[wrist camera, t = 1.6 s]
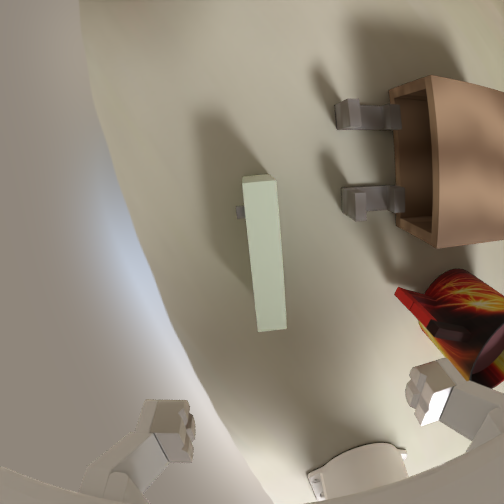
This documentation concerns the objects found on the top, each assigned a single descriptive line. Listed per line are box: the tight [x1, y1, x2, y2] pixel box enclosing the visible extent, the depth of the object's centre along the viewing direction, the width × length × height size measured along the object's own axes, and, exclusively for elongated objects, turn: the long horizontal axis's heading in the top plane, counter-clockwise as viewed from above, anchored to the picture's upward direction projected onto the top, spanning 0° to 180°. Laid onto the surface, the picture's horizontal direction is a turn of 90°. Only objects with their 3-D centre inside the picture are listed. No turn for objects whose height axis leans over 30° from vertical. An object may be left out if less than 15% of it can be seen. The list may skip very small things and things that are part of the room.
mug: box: [394, 269, 504, 389], centre depth 27 cm, size 10×14×12 cm
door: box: [236, 174, 287, 332], centre depth 27 cm, size 12×3×7 cm, turn 6°
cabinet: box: [334, 75, 504, 249], centre depth 24 cm, size 14×18×8 cm
